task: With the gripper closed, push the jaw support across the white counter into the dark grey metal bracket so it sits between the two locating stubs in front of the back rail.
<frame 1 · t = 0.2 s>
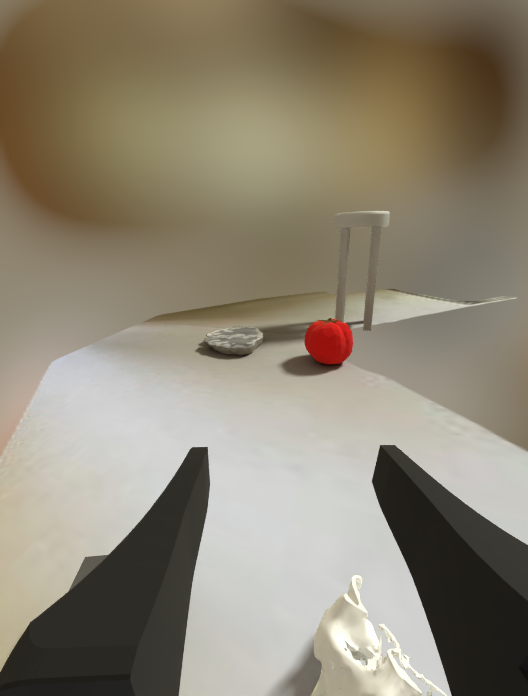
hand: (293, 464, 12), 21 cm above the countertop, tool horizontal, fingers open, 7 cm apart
tomato: (327, 361, 75), on the countertop
stool: (353, 325, 103), on the countertop
brain slice: (234, 346, 88), on the countertop
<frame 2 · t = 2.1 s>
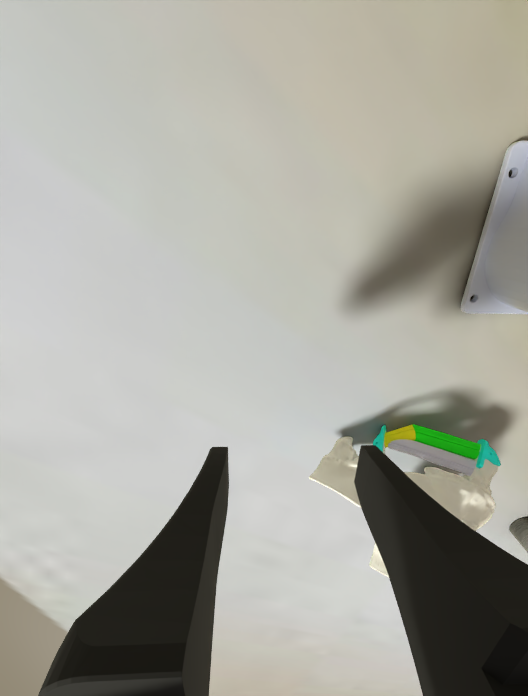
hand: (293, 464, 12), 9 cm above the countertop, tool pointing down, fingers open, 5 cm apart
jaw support: (395, 459, 26), on the countertop
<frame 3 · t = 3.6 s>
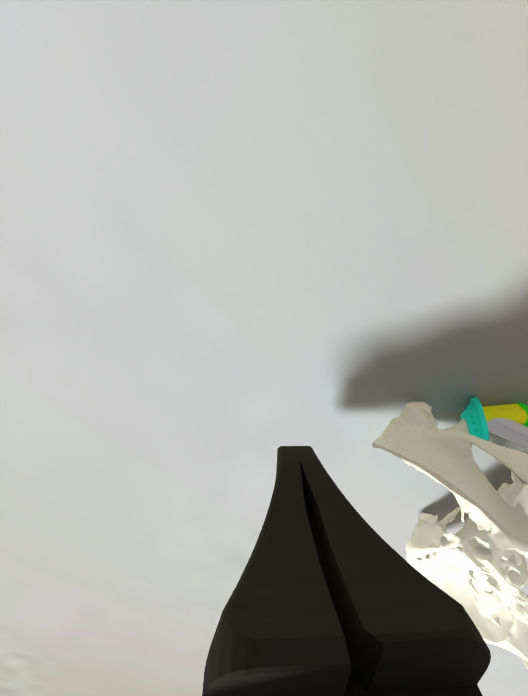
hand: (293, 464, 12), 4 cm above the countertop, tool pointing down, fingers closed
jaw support: (461, 453, 18), on the countertop
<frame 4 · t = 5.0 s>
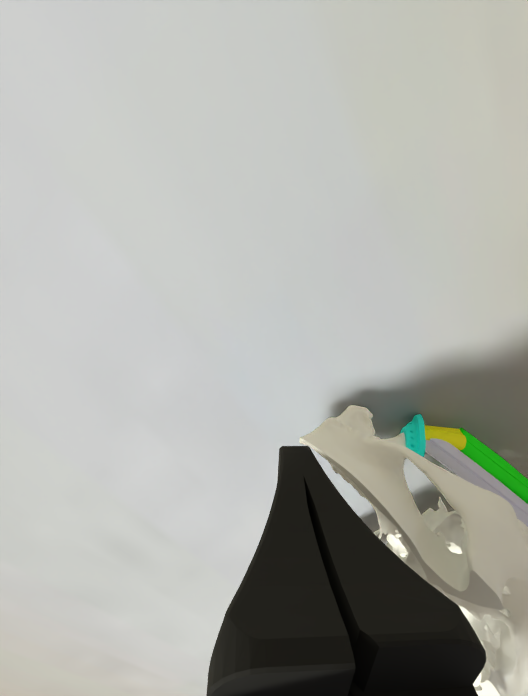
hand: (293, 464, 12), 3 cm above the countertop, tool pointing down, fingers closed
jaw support: (394, 473, 17), on the countertop, touching gripper
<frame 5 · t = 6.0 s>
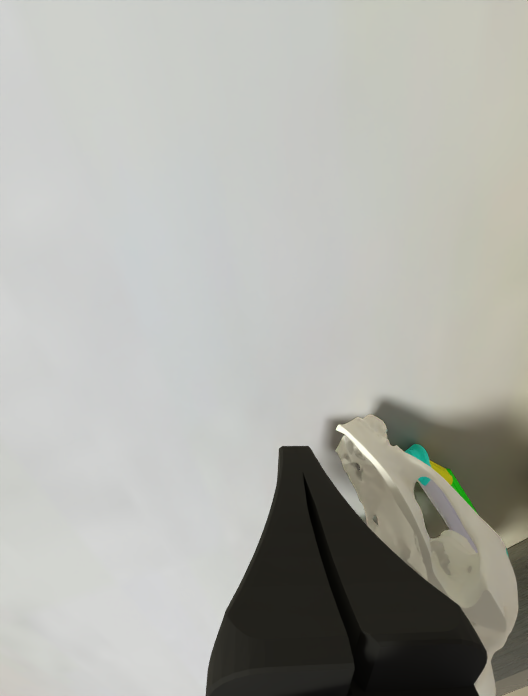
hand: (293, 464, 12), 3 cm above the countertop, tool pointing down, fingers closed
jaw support: (367, 492, 18), on the countertop, touching gripper
housing bracket: (407, 526, 19), on the countertop
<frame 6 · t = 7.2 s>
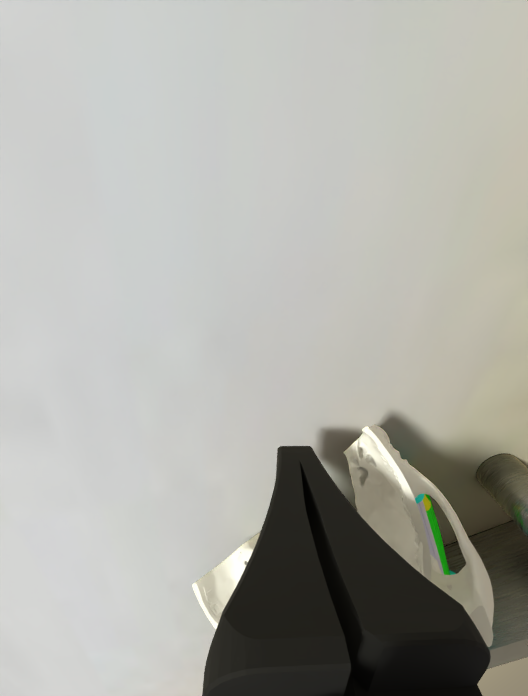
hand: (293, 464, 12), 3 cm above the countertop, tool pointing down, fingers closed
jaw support: (344, 502, 18), on the countertop
housing bracket: (345, 508, 18), on the countertop
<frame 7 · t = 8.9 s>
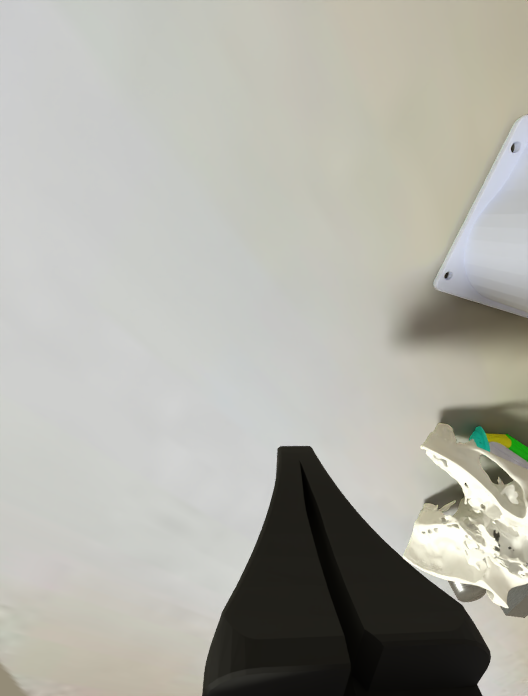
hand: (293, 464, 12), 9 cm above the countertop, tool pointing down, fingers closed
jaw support: (460, 464, 26), on the countertop
housing bracket: (466, 466, 26), on the countertop
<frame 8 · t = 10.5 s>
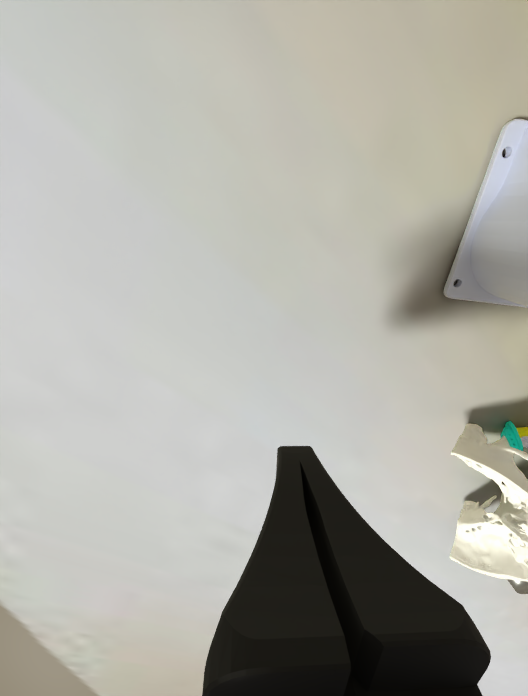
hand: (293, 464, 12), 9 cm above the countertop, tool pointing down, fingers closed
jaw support: (496, 459, 26), on the countertop
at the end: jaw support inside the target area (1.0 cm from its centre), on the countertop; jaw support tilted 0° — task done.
